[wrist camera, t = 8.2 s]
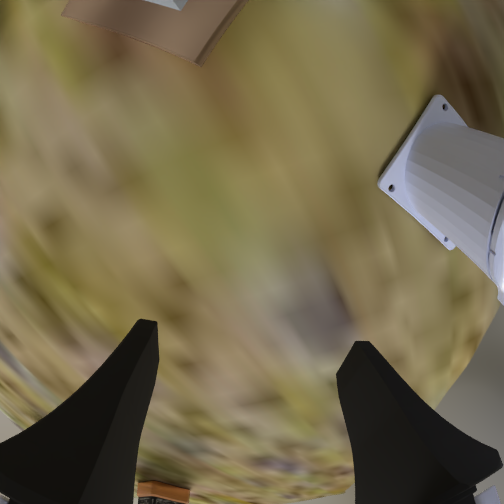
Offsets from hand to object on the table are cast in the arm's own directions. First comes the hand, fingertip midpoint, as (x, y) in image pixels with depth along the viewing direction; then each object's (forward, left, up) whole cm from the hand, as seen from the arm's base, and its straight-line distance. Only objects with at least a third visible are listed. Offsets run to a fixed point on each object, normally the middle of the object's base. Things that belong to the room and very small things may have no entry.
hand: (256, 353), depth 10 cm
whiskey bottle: (-16, +68, -10) cm, 71 cm away
